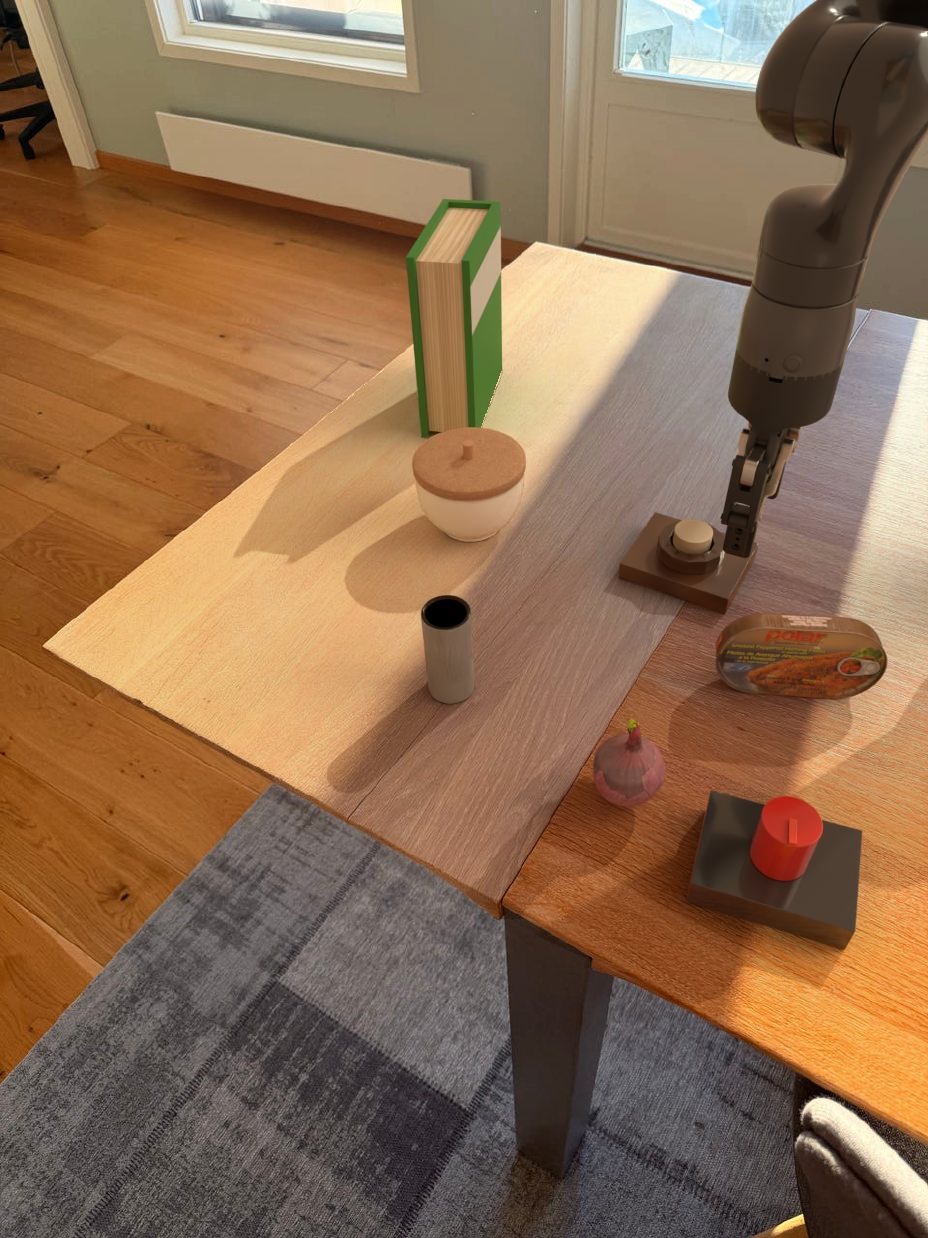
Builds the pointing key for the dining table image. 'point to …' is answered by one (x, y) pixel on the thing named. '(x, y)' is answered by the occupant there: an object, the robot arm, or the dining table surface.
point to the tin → (800, 655)
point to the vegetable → (628, 768)
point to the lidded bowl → (469, 481)
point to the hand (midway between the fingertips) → (750, 523)
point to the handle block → (741, 890)
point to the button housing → (684, 566)
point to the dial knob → (785, 838)
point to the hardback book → (456, 313)
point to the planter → (448, 648)
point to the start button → (692, 537)
